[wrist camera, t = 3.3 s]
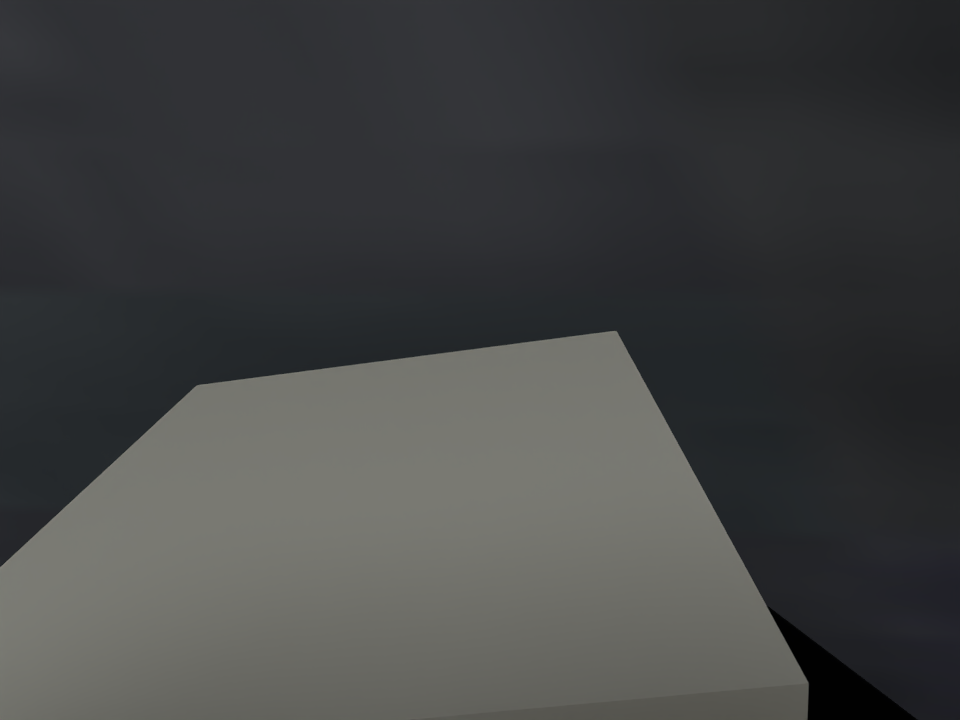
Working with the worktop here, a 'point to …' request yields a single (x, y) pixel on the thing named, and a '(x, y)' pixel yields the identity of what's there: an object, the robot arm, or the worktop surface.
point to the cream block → (398, 558)
